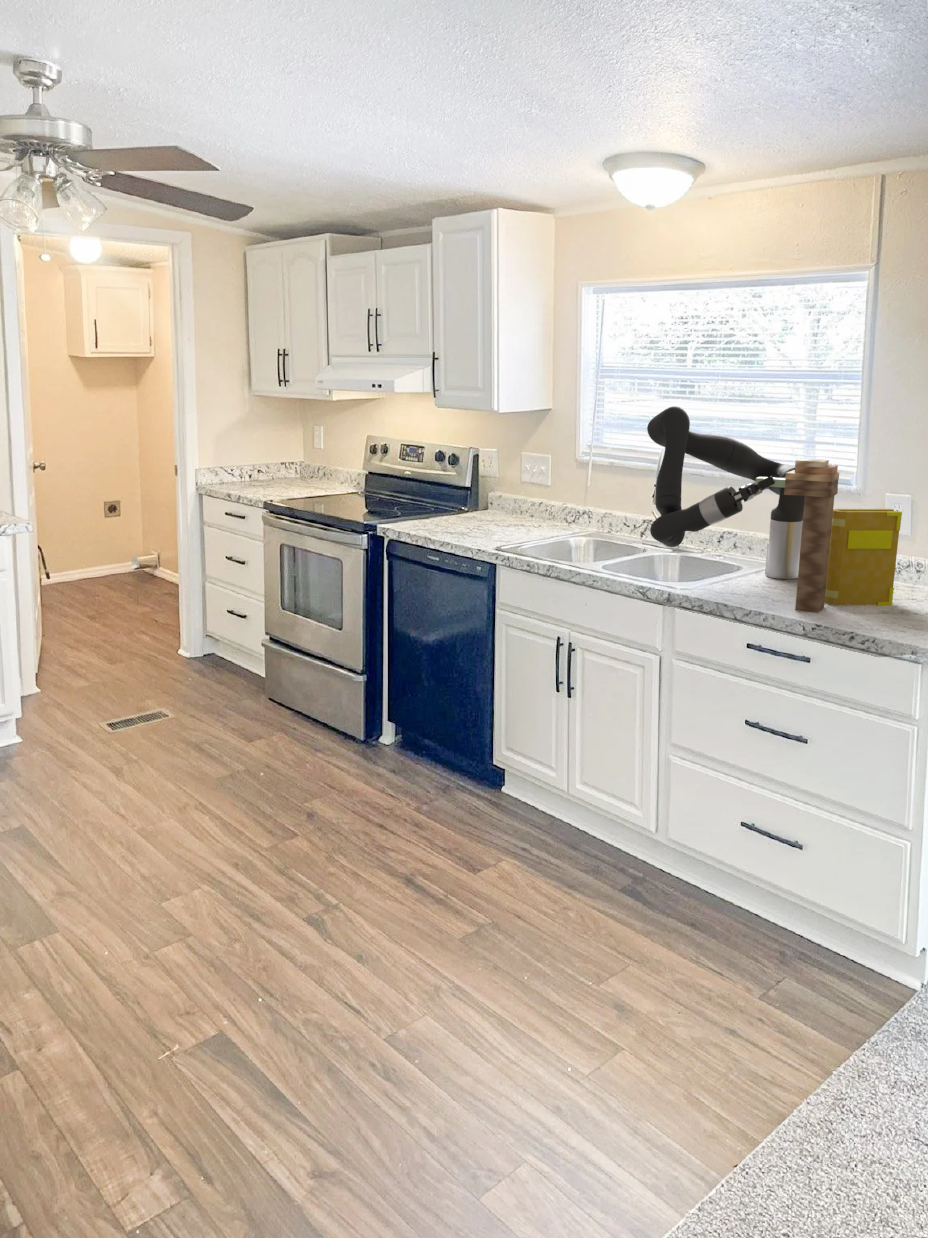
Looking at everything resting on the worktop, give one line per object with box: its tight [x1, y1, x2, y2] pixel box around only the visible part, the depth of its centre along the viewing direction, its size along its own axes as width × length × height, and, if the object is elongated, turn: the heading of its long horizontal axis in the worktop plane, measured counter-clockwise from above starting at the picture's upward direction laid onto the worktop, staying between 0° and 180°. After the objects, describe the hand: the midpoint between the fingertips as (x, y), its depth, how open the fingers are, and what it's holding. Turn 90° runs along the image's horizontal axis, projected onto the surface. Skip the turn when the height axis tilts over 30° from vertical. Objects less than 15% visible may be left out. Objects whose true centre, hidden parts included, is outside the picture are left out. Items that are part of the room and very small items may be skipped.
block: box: [756, 477, 786, 488], centre depth 269 cm, size 18×4×2 cm, turn 61°
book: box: [825, 508, 903, 607], centre depth 278 cm, size 17×7×25 cm, turn 92°
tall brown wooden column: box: [784, 458, 840, 614], centre depth 270 cm, size 12×9×39 cm
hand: (776, 478), depth 270 cm, fingers open, 7 cm apart
